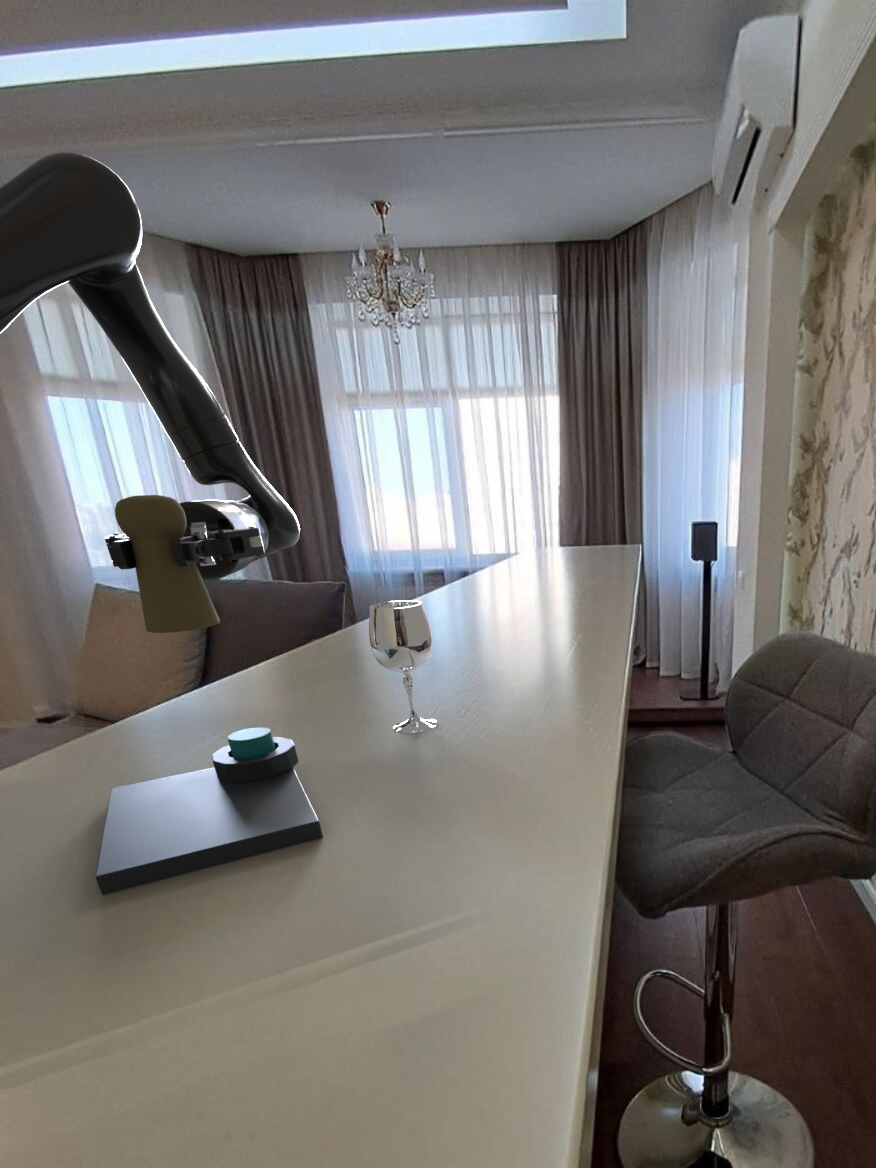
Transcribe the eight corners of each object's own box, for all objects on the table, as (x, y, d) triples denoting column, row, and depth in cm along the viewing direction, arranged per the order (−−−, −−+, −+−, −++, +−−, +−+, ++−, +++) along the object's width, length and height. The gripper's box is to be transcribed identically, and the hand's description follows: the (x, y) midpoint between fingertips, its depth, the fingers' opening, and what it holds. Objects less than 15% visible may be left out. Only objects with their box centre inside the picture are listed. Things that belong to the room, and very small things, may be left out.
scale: (331, 836, 48) (322, 797, 46) (102, 896, 42) (84, 854, 40) (295, 763, 61) (287, 731, 59) (117, 801, 55) (104, 766, 53)
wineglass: (423, 738, 65) (403, 610, 60) (374, 733, 67) (350, 609, 62) (455, 719, 70) (438, 600, 65) (408, 715, 72) (388, 599, 67)
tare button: (278, 755, 55) (272, 735, 54) (234, 764, 54) (228, 743, 53) (273, 744, 58) (267, 724, 57) (231, 752, 56) (225, 732, 56)
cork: (181, 634, 59) (140, 496, 54) (130, 631, 61) (85, 497, 56) (235, 620, 64) (201, 492, 60) (186, 618, 66) (149, 494, 61)
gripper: (129, 503, 70) (38, 510, 55) (275, 497, 72) (226, 502, 57) (152, 579, 73) (73, 605, 58) (291, 571, 75) (250, 594, 60)
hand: (149, 554), depth 57 cm, fingers closed on cork, 4 cm apart
